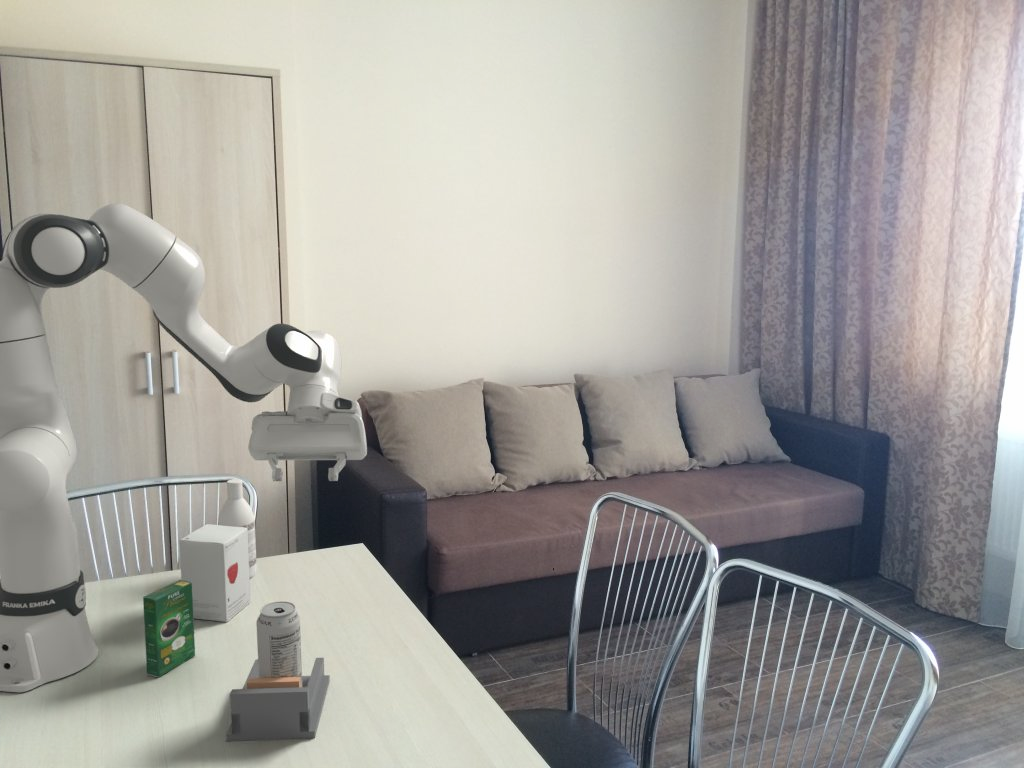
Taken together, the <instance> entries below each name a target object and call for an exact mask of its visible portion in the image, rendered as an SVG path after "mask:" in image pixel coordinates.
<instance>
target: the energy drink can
mask: <svg viewBox="0 0 1024 768" xmlns="http://www.w3.org/2000/svg"><path fill="white" fill-rule="evenodd" d="M259 612H260V614H259V616H258V617H257V619H256V623H255V624H256V625H255V626H256V641H257V643H256V644H257V659H258V668H259V678H281V677H301V687H302V676H303V667H302V666H303V665H302V663H303V662H302V640H301V616H300V614H299V613H298V611H297V610H296V606H295V604H294V603H292V602H290V601H273V602H270V603H267V604H264V606H262V607H261V608H260V611H259Z"/></svg>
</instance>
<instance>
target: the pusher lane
mask: <svg viewBox="0 0 1024 768" xmlns="http://www.w3.org/2000/svg"><path fill="white" fill-rule="evenodd" d="M249 678H259V668H258V658H257V659H255V660H254V662H253V665H252V666H251V669H250V671H249V673H248V675H247V678H246V680H245V683H244V685H243V686H242V688H240V689H239V688H235V689H234V688H233V689H231V691H230V692H229V701H230V717H231V719H230V721H231V722H230V724H229V727H228V729H227V732H226V733H225V740H226V742H231V741H233V742H235V741H237V742H238V741H260V740H262V741H263V740H264V741H265V740H267V741H268V740H288V739H289V740H294V739H297V740H298V739H315V738H316V737H317V736H316V735H317V731H318V727H319V723H320V720H321V717H322V712H323V710H324V709H323V708H324V704H325V701H326V698H327V694H328V689H329V685H330V682H331V681H330V680H331V679H330V674H328V675H326V674H325V658H324V657H316V658H315V659H314V663H313V667H312V670H311V673H310V675H302V687H295V688H261V689H247V681H248V679H249Z"/></svg>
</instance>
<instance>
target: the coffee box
mask: <svg viewBox="0 0 1024 768" xmlns="http://www.w3.org/2000/svg"><path fill="white" fill-rule="evenodd" d="M142 602H143V619H144V622H143V623H144V641H145V657H146V659H145V660H146V674H147V675H148V676H151V677H154V678H161V676H163V675H164V674H165V675H166V674H167V673H169V672H171V670H173V669H175V668H177V667H179V666H180V665H182V664H183V663H185V662H188V661H189V660H190V659H192V658H194V657H195V656H196V646H195V644H196V642H195V641H196V640H195V624H194V623H195V621H194V618H193V597H192V582H187V581H183V580H180V579H178V580H177V581H175V582H173V583H170V584H168V585H165V586H164V587H162V588H159V589H158V590H155V591H153V592H152V593H149V594H146V595H144V596H142Z"/></svg>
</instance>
